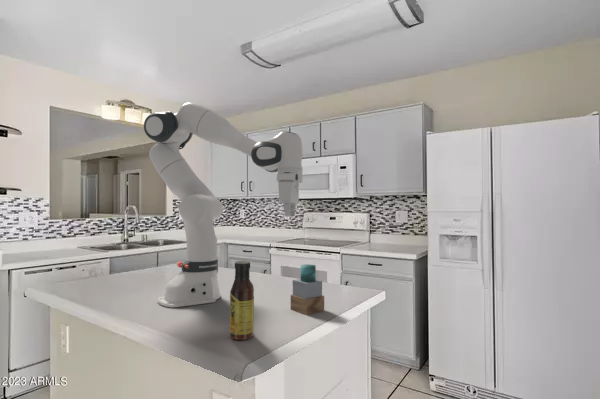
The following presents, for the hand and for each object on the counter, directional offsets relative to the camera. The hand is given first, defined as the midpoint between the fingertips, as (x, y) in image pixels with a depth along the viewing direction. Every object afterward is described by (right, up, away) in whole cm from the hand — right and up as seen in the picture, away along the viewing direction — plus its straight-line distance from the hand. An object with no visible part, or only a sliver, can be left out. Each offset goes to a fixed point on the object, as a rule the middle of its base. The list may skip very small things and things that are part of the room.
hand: (289, 216), depth 127 cm
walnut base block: (+6, -31, -8) cm, 33 cm away
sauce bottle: (-12, -31, -33) cm, 47 cm away
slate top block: (+6, -26, -8) cm, 28 cm away
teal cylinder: (+6, -21, -8) cm, 24 cm away
